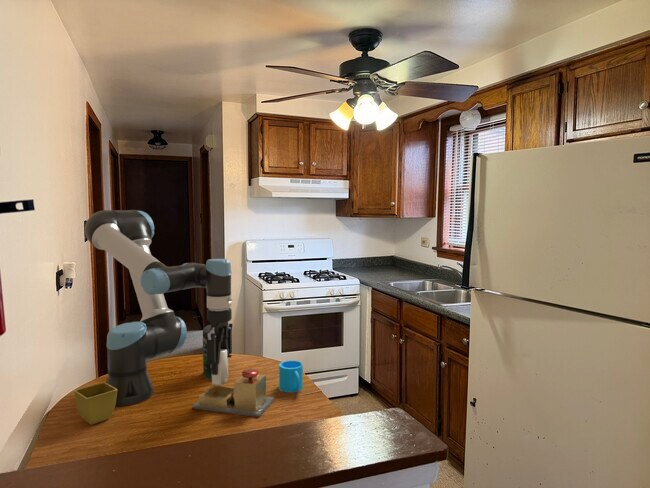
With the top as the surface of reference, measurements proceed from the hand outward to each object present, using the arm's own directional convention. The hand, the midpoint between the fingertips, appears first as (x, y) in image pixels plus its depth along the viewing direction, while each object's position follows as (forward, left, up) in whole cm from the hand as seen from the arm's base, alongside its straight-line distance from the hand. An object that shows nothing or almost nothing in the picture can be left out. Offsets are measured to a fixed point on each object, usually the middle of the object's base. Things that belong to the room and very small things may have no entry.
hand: (220, 380), depth 139 cm
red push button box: (+5, 0, -7) cm, 9 cm away
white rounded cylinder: (0, 0, 0) cm, 0 cm away
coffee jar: (-13, +20, -7) cm, 25 cm away
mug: (+19, +16, -7) cm, 26 cm away
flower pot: (-29, -20, -7) cm, 36 cm away
